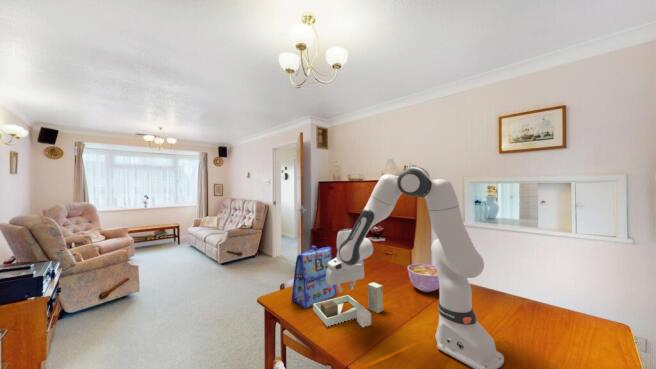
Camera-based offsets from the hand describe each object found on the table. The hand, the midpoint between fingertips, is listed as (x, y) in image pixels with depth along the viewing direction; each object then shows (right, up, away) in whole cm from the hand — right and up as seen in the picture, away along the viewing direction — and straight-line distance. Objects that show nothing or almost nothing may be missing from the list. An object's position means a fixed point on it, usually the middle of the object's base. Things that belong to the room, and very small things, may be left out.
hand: (345, 290), depth 118 cm
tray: (-4, -10, -2) cm, 11 cm away
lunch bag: (-16, -11, +14) cm, 24 cm away
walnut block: (-8, -10, -4) cm, 13 cm away
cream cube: (+7, -10, -10) cm, 16 cm away
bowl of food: (+48, -10, +24) cm, 55 cm away
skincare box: (+15, -10, +1) cm, 18 cm away
